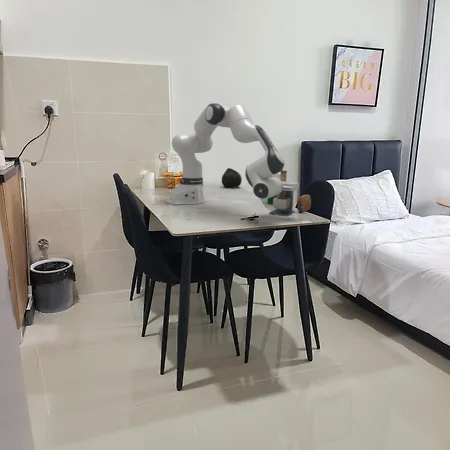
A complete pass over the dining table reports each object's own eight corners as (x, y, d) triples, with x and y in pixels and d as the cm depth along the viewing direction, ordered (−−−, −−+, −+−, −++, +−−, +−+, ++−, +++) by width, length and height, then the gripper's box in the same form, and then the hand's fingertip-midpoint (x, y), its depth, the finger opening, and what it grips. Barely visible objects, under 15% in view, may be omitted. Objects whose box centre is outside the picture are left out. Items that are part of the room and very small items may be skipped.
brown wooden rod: (280, 206, 206) (282, 171, 202) (277, 205, 209) (279, 170, 204) (285, 206, 208) (288, 171, 203) (282, 205, 210) (284, 170, 206)
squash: (248, 180, 296) (237, 164, 299) (236, 183, 284) (225, 166, 287) (236, 191, 305) (226, 175, 308) (224, 194, 293) (213, 178, 296)
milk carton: (267, 201, 243) (269, 168, 238) (282, 202, 241) (284, 168, 236) (266, 204, 234) (267, 169, 230) (281, 205, 232) (283, 170, 228)
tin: (301, 213, 211) (302, 197, 209) (295, 212, 213) (296, 196, 211) (311, 209, 224) (312, 193, 222) (306, 208, 225) (307, 193, 223)
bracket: (287, 216, 203) (289, 192, 200) (269, 214, 207) (270, 190, 205) (295, 212, 214) (296, 189, 211) (277, 210, 218) (278, 188, 215)
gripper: (294, 181, 187) (303, 178, 199) (253, 178, 196) (264, 175, 208) (293, 195, 189) (302, 191, 201) (253, 191, 198) (263, 188, 210)
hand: (282, 183), depth 205 cm, fingers open, 8 cm apart
